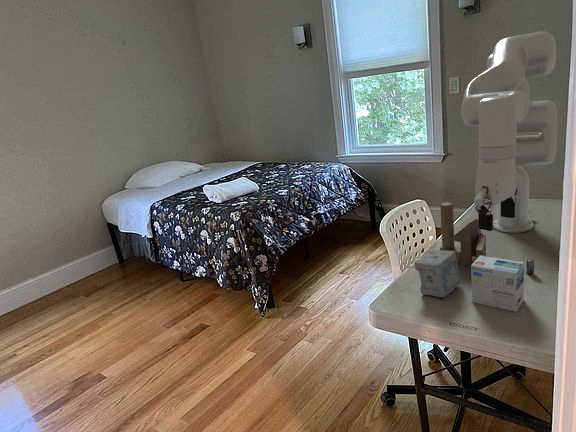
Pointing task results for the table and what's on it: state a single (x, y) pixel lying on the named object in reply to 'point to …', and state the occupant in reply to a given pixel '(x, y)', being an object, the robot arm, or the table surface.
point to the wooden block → (458, 236)
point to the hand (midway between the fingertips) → (497, 223)
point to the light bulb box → (498, 282)
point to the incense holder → (438, 273)
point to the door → (480, 247)
